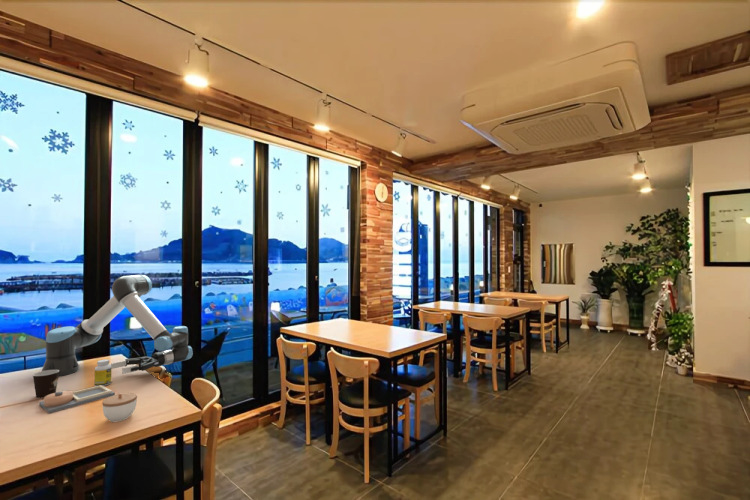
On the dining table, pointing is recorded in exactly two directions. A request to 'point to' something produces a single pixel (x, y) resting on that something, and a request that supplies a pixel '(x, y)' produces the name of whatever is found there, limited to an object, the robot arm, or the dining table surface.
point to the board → (74, 398)
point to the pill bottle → (103, 373)
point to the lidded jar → (119, 406)
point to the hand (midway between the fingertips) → (116, 368)
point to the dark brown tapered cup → (45, 382)
